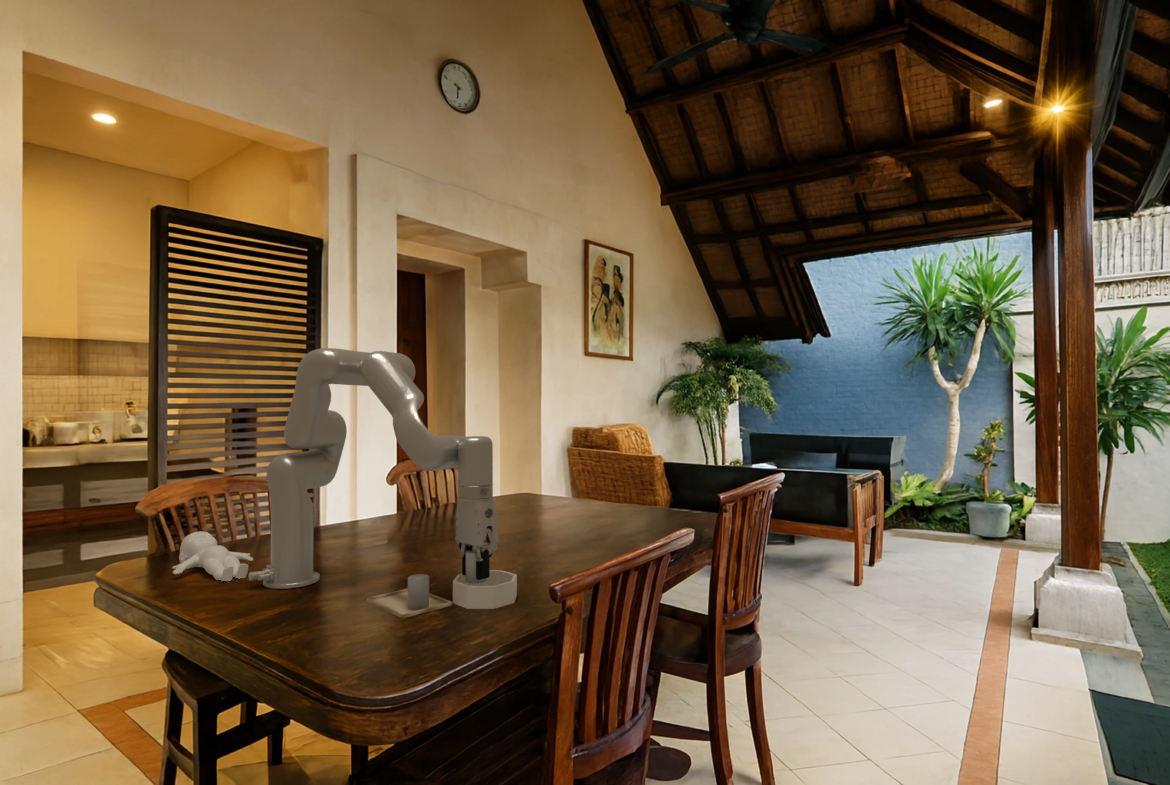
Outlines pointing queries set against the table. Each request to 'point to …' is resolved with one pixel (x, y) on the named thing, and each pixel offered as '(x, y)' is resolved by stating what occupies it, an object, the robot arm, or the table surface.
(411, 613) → the tray
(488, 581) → the bowl
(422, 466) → the robot arm
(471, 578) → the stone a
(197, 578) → the table surface
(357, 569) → the table surface
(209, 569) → the doll
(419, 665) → the table surface
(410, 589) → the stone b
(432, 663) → the table surface
